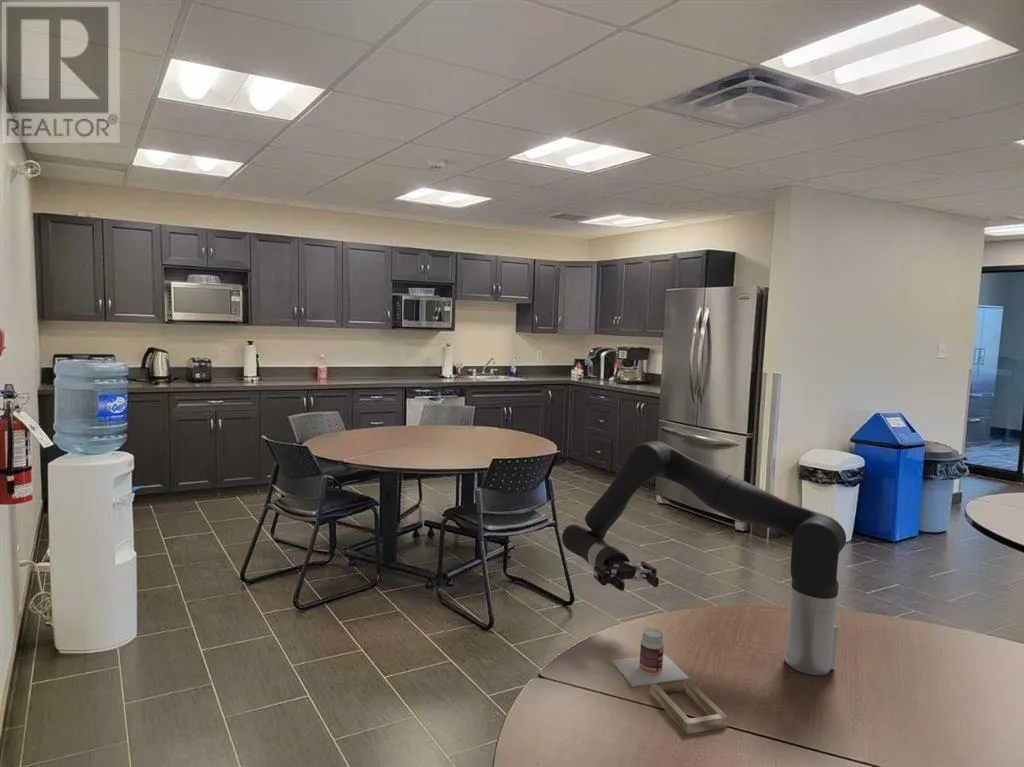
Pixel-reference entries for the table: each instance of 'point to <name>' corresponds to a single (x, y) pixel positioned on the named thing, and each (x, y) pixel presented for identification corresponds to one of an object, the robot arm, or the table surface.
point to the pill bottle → (651, 652)
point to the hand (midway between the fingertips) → (640, 584)
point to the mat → (639, 678)
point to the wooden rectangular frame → (700, 723)
